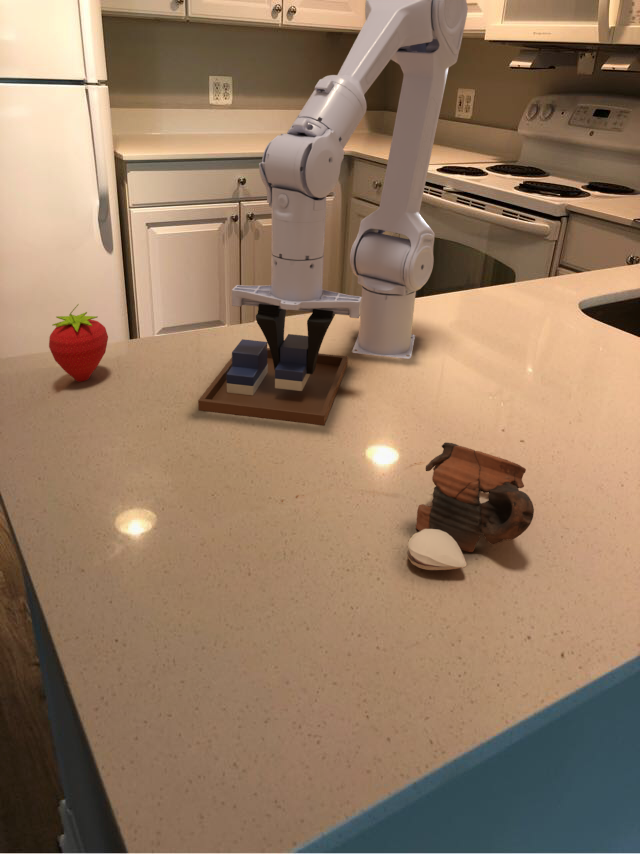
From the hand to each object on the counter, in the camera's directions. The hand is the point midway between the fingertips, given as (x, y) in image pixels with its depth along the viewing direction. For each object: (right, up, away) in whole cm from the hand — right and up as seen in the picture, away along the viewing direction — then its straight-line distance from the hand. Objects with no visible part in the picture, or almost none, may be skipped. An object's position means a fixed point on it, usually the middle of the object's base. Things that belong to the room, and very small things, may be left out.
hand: (294, 369), depth 83 cm
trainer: (0, -1, +1) cm, 1 cm away
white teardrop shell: (+12, -18, -26) cm, 34 cm away
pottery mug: (+16, -16, -21) cm, 31 cm away
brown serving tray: (-2, -2, +2) cm, 4 cm away
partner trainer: (-6, -1, +2) cm, 6 cm away
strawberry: (-25, -2, +2) cm, 25 cm away
